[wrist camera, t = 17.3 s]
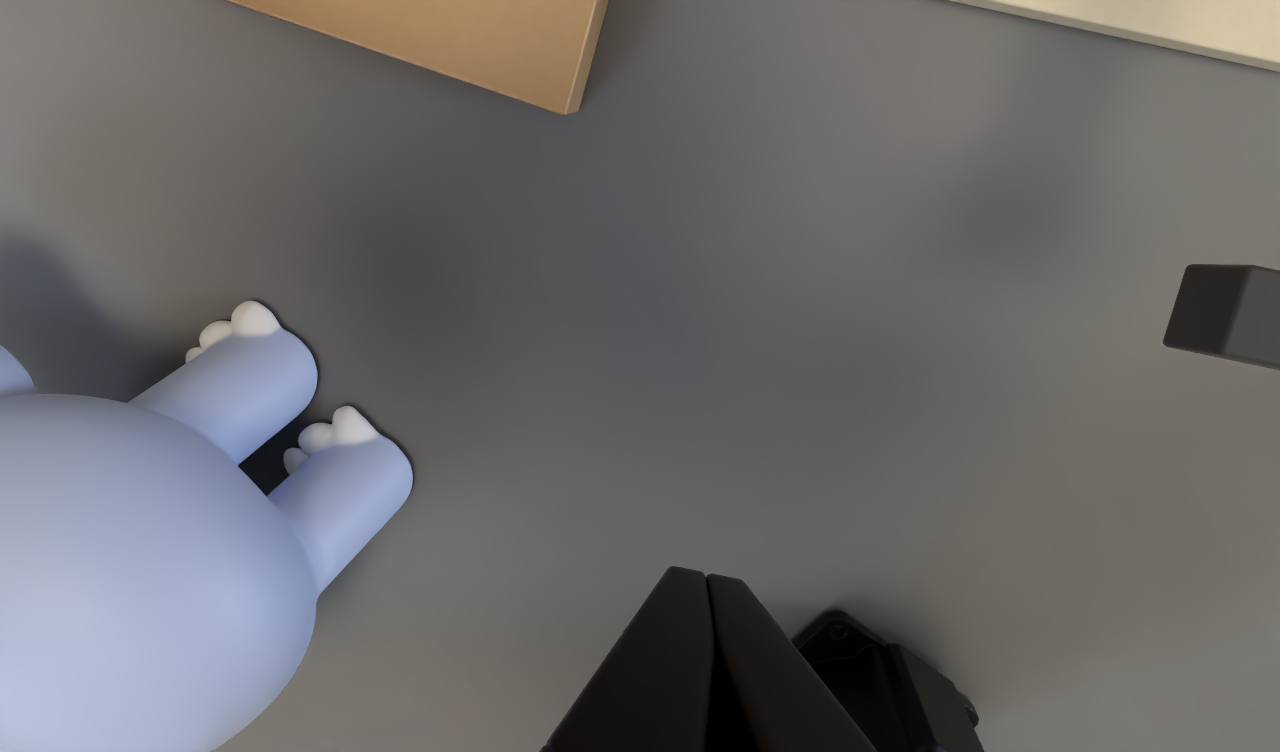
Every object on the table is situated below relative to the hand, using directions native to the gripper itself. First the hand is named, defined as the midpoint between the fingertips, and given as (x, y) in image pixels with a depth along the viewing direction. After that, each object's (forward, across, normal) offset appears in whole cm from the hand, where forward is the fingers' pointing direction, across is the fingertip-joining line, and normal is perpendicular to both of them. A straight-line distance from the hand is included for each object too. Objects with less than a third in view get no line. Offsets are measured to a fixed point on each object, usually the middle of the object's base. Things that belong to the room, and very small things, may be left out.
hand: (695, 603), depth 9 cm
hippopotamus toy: (+13, +14, +8) cm, 21 cm away
